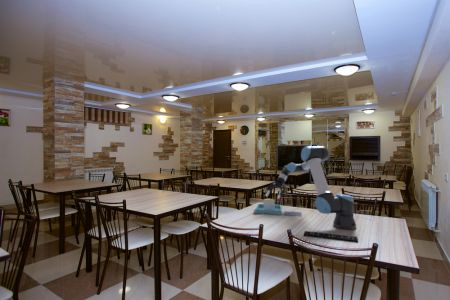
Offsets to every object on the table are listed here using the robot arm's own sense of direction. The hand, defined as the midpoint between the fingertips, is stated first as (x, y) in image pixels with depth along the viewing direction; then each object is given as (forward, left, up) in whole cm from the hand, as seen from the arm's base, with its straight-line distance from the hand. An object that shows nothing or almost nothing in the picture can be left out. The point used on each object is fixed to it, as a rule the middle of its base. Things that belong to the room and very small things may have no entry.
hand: (271, 197), depth 233 cm
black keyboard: (-61, -41, -13) cm, 75 cm away
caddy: (-4, +2, -11) cm, 12 cm away
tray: (-4, +2, -12) cm, 13 cm away
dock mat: (-10, -19, -12) cm, 25 cm away
